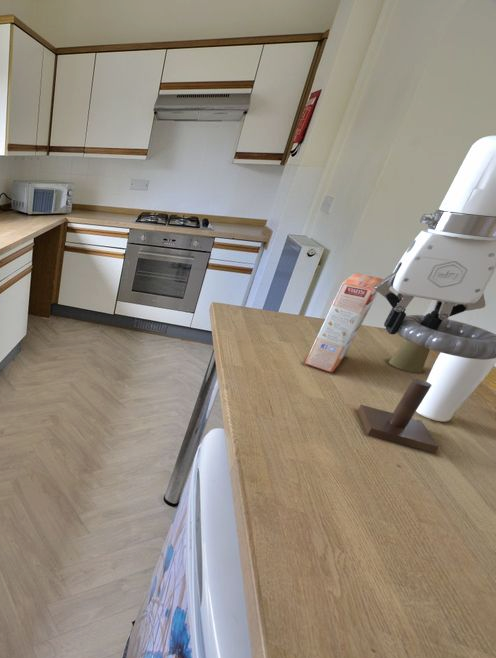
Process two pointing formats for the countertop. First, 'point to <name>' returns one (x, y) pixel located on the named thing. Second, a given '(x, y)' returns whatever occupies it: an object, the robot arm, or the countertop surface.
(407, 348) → the olive pawn shaped figure
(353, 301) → the cracker box
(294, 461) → the countertop surface
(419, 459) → the countertop surface
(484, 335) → the grey ridged ring
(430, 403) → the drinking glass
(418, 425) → the post
